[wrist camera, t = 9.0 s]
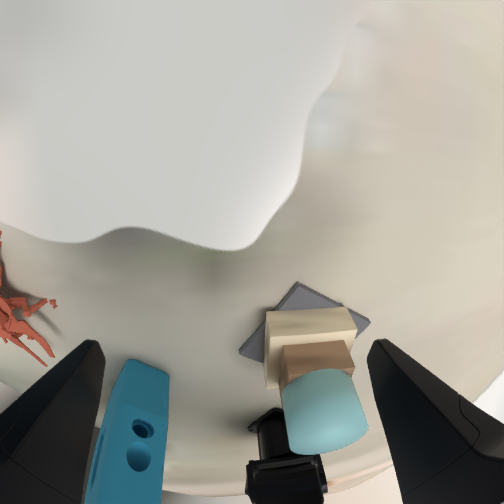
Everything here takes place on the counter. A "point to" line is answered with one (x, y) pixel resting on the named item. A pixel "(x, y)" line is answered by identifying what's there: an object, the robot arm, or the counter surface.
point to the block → (132, 439)
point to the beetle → (21, 322)
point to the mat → (297, 300)
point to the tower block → (313, 360)
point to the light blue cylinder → (322, 412)
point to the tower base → (302, 334)
